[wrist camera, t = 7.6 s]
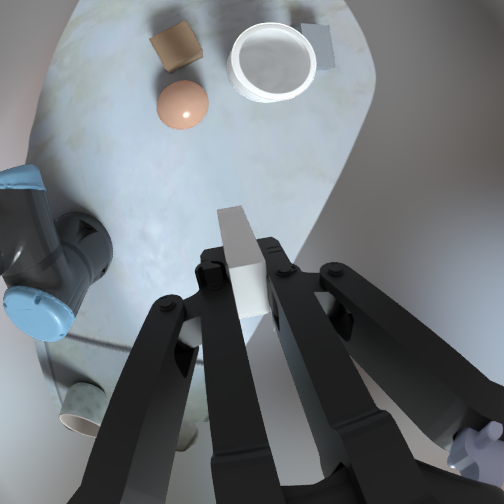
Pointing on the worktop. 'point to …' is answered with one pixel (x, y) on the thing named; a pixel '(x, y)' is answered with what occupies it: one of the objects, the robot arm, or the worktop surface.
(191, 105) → the glossy peach dome
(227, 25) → the worktop surface
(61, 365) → the worktop surface
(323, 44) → the slate block
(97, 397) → the planter
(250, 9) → the worktop surface
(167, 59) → the walnut block
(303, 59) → the jar
